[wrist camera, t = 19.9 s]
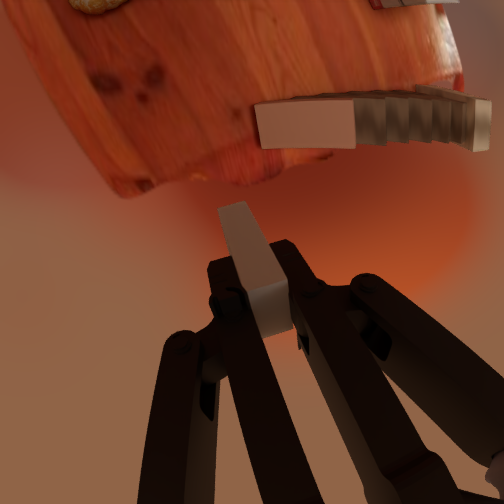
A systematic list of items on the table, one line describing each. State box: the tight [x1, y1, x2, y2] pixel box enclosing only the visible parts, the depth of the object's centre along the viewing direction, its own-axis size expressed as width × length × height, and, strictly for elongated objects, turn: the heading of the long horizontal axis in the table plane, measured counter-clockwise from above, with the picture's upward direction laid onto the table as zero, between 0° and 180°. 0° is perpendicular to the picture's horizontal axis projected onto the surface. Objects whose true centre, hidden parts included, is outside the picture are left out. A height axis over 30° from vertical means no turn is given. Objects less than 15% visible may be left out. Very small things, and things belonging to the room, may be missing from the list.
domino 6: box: [393, 90, 467, 144], centre depth 34 cm, size 6×2×12 cm, turn 11°
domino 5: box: [372, 90, 451, 143], centre depth 33 cm, size 6×2×12 cm
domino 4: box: [347, 91, 432, 143], centre depth 33 cm, size 6×2×12 cm
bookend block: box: [416, 85, 492, 152], centre depth 34 cm, size 8×5×13 cm, turn 11°
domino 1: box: [254, 98, 356, 149], centre depth 33 cm, size 6×2×12 cm
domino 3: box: [318, 93, 409, 143], centre depth 33 cm, size 6×2×12 cm
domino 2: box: [291, 96, 387, 146], centre depth 33 cm, size 6×2×12 cm
